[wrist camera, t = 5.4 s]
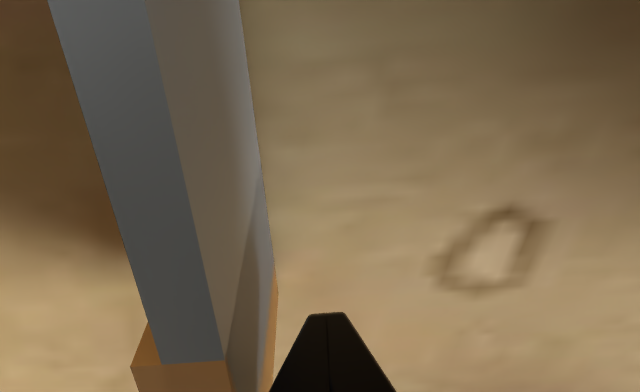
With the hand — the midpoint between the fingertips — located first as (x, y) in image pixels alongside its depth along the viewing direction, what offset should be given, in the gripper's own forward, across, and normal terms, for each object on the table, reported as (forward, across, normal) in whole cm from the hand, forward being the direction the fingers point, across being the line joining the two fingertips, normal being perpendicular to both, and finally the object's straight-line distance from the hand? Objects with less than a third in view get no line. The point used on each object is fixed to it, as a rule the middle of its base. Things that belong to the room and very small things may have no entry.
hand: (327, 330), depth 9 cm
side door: (+4, +2, -9) cm, 10 cm away
